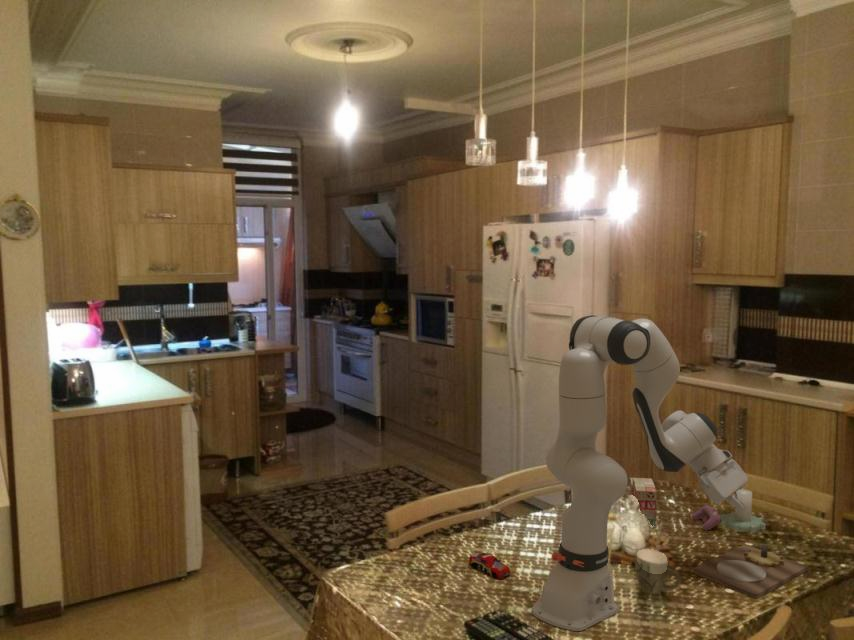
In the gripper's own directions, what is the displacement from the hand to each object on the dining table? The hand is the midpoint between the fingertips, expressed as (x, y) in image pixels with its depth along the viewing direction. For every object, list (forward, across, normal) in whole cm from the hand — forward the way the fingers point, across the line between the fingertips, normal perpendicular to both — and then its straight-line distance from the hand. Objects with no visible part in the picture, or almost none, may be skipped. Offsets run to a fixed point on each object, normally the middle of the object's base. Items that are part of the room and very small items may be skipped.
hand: (745, 507), depth 185 cm
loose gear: (+3, 0, +4) cm, 5 cm away
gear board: (+14, +4, +13) cm, 20 cm away
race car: (-24, -40, +52) cm, 70 cm away
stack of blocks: (-14, +24, +42) cm, 50 cm away
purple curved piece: (0, +30, +28) cm, 41 cm away
